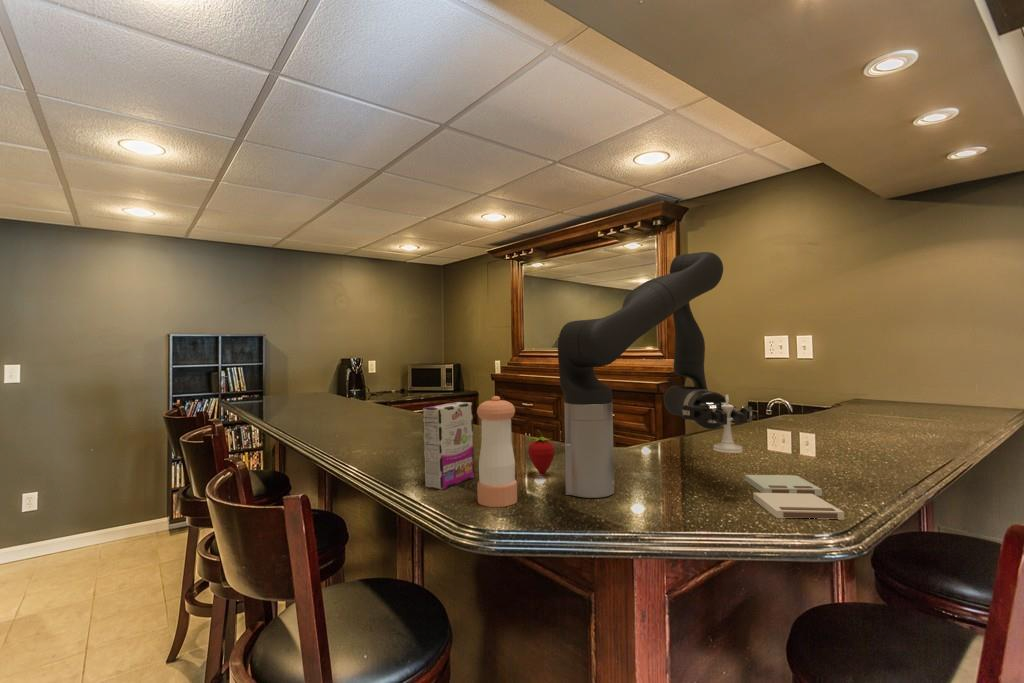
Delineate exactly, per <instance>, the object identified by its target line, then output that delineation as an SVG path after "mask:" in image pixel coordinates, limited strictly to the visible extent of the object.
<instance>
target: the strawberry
mask: <svg viewBox="0 0 1024 683" xmlns="http://www.w3.org/2000/svg"><path fill="white" fill-rule="evenodd" d="M537 431H538V432H540V430H539V429H537ZM527 439H528V440H533V441H532V442H530V443H529V445H528V451H527V453H528V456H529V460H530V461H531V463H532V465H533V466H534V468H535V469H536V470H537V472H538V473H539V475H540V476H545V474H546V473H547V471H548V469H549V468H550V466H551V465H552V462H553V461H554V458H555V452H556V450H555V446H554V444H552V442H551V441H552V439H553V437H544V436H543V434H541V436H540V437H528V438H527Z"/></svg>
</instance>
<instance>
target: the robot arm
mask: <svg viewBox="0 0 1024 683" xmlns="http://www.w3.org/2000/svg"><path fill="white" fill-rule="evenodd" d="M723 273H724V264H723V261H722V259H721V258H720V257H719V256H718V255H717V254H716V253H714V252H710V251H702V252H701V251H700V252H692V253H691V252H690V253H684V254H679V255H676V256H675V257H674V258H673V259H672V260H671V263H670V268H669V273H667V274H664V275H661V276H657V277H653V278H651V279H649V280H647V281H645V282H643V283H642V284H640V285H638V286H636V287H635V288H633V289H632V290H630V292H629V293H628V294H626V296H625V298H624V300H623V302H622V308H620V309H619V310H617V311H615V312H613V313H612V314H609V315H607V316H605V317H600V318H591V319H580V320H572V321H568V322H567V323H565V324H564V325H563V326H562V328H561V329H560V330H559V331H560V332H559V334H558V339H557V359H558V360H557V361H558V374H559V384H560V389H561V390H562V393H563V398H564V399H563V401H564V403H563V404H564V466H565V468H564V469H565V470H564V471H565V473H564V474H565V476H564V477H565V495H566V496H573V497H574V496H575V497H578V498H579V497H580V498H589V499H590V498H591V499H592V498H593V499H594V498H595V499H598V498H605V497H609V496H611V495H613V494H614V493H615V469H614V468H615V467H614V461H615V460H614V424H613V422H614V418H613V391H612V388H611V387H610V386H609V385H607V384H605V383H603V382H602V381H600V380H599V379H598V377H597V376H596V374H595V370H594V368H602V367H606V366H609V365H611V364H612V363H614V362H615V361H616V360H617V359H618V358H620V357H621V356H622V355H623V354H624V352H626V351H627V350H628V348H629V347H631V346H632V345H633V344H634V343H635V342H636V341H637V340H638V339H640V338H641V337H642V336H644V335H645V334H646V333H648V332H650V331H651V330H652V329H653V328H655V327H656V326H658V325H659V324H661V323H662V322H664V321H665V320H666V319H668V318H670V317H671V316H673V317H672V318H673V324H674V325H673V327H674V353H673V354H674V355H673V373H674V374H675V375H677V376H680V377H683V378H688V379H690V380H691V381H692V383H693V386H690V385H689V386H687V385H672V386H669V388H667V390H665V392H664V396H663V403H664V408H665V409H666V410H667V411H668V413H669V414H671V415H674V416H679V417H682V419H684V420H690V421H692V422H693V423H695V424H697V425H698V426H700V427H702V428H705V429H707V430H708V429H709V430H715V429H719V428H722V427H724V425H727V413H726V412H724V411H723V410H722V408H721V405H725V404H726V400H725V398H726V396H724V395H722V394H721V393H718V392H716V391H712V390H709V389H708V386H707V381H706V380H707V379H706V375H705V374H706V373H705V359H706V358H705V354H706V345H705V344H706V342H705V336H704V335H703V332H702V330H701V328H700V326H699V324H698V323H697V321H696V319H695V317H694V315H693V312H692V309H691V305H690V302H691V301H693V300H694V299H696V298H697V297H699V296H701V295H703V294H705V293H709V292H710V291H712V290H714V289H715V288H716V287H717V286H718V284H720V281H721V280H722V277H723ZM731 405H732V404H731ZM732 406H733V409H732V412H731V415H730V418H733V420H732V421H730V424H733V425H737V426H742V425H743V424H746V423H749V422H750V421H752V420H753V407H752V406H750V405H747V406H741V408H738V407H736V406H734V405H732Z"/></svg>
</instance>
